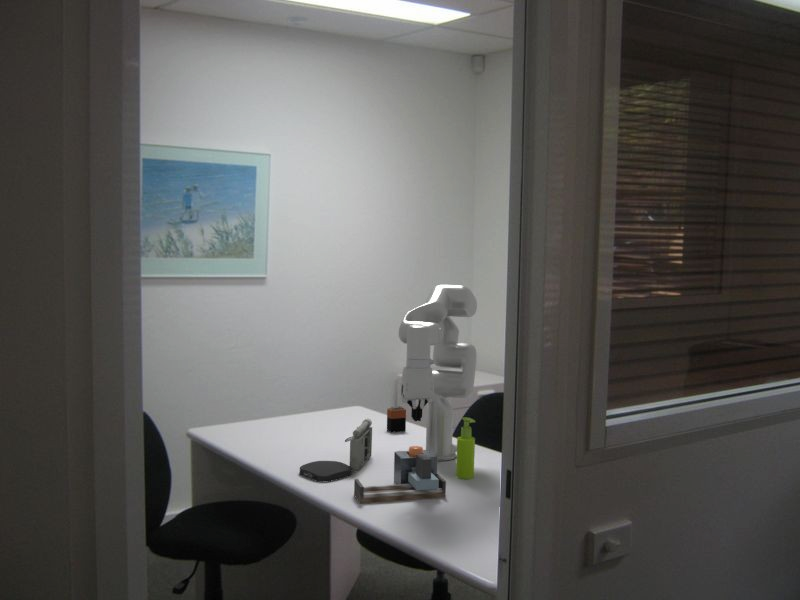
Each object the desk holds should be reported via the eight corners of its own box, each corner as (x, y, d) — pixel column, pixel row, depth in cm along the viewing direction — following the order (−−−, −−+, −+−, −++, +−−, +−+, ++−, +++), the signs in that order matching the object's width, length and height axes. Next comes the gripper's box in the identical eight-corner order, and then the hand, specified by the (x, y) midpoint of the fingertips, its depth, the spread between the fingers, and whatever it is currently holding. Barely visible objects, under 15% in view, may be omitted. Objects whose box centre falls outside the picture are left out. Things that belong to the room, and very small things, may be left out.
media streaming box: (356, 475, 269) (356, 466, 269) (322, 484, 259) (322, 475, 259) (328, 465, 279) (329, 457, 279) (294, 473, 269) (294, 465, 269)
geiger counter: (361, 431, 271) (378, 415, 295) (343, 430, 272) (361, 413, 296) (360, 472, 272) (377, 452, 296) (342, 470, 273) (360, 451, 298)
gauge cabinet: (428, 479, 266) (429, 449, 265) (437, 487, 257) (437, 456, 257) (393, 481, 262) (394, 451, 261) (401, 489, 254) (401, 458, 253)
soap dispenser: (463, 480, 265) (465, 421, 263) (452, 475, 271) (454, 416, 269) (478, 478, 268) (480, 419, 266) (467, 472, 274) (469, 415, 272)
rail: (437, 488, 256) (437, 473, 255) (445, 497, 248) (445, 481, 248) (354, 494, 248) (354, 479, 248) (360, 503, 241) (360, 487, 240)
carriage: (429, 480, 255) (430, 452, 255) (438, 489, 247) (439, 460, 246) (408, 481, 253) (408, 453, 253) (416, 490, 245) (417, 461, 244)
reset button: (420, 458, 262) (420, 445, 262) (424, 462, 258) (424, 449, 258) (407, 459, 261) (407, 446, 261) (411, 462, 257) (411, 450, 256)
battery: (405, 431, 328) (406, 407, 327) (390, 432, 325) (391, 408, 324) (401, 428, 332) (401, 404, 331) (386, 430, 329) (386, 406, 328)
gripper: (436, 361, 262) (435, 416, 264) (392, 362, 258) (390, 418, 260) (444, 365, 255) (442, 422, 257) (398, 366, 251) (397, 424, 253)
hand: (416, 420), depth 258 cm, fingers closed
